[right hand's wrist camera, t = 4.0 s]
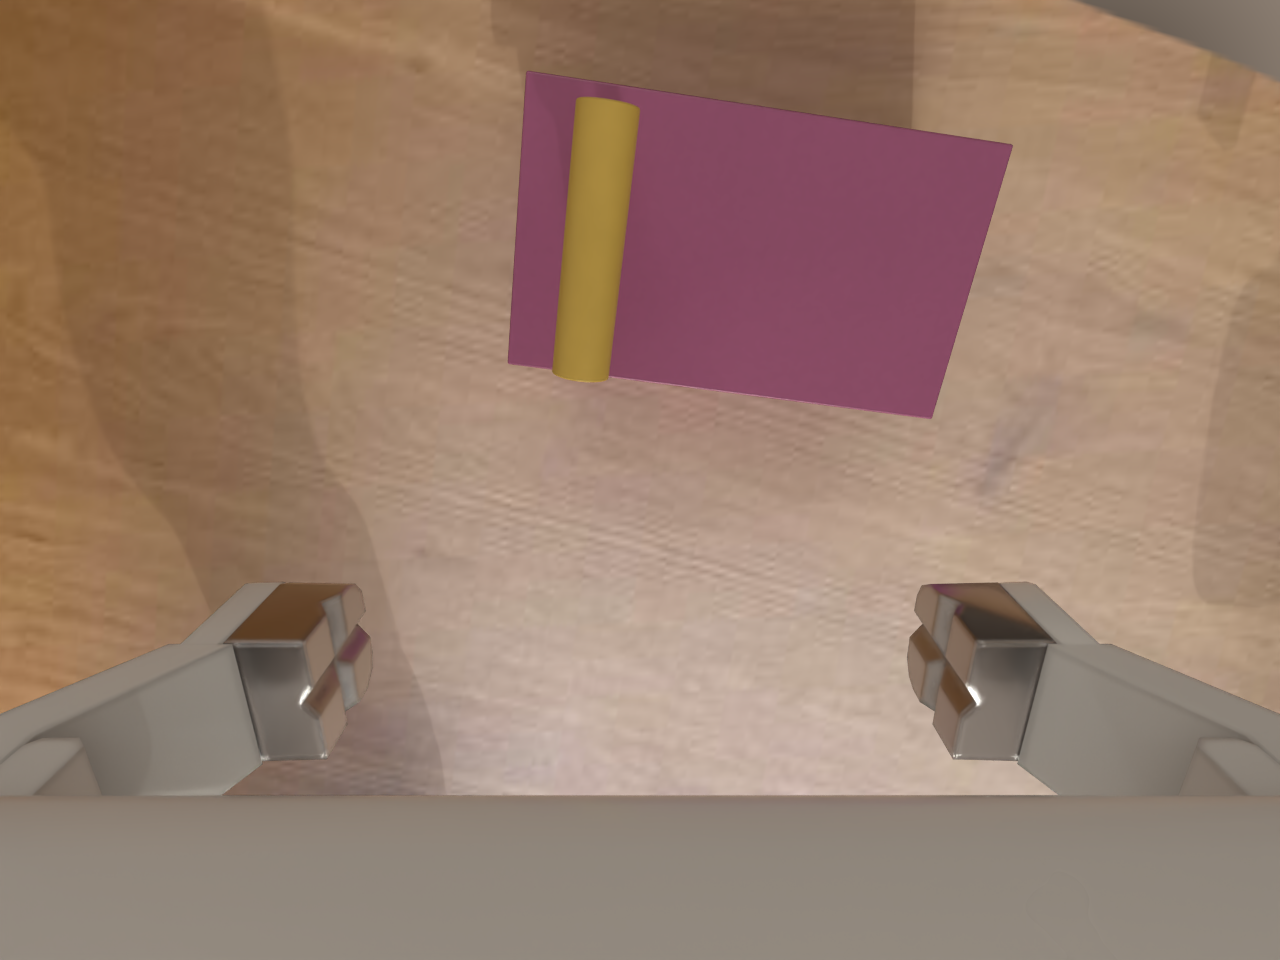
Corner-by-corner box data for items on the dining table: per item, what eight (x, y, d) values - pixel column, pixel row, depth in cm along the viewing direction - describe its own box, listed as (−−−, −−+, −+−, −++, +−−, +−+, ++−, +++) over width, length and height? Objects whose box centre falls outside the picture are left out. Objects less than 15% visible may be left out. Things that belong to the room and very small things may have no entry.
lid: (510, 359, 27) (465, 413, 20) (529, 74, 24) (481, 14, 17) (924, 413, 28) (1022, 483, 21) (1002, 146, 25) (1153, 119, 17)
